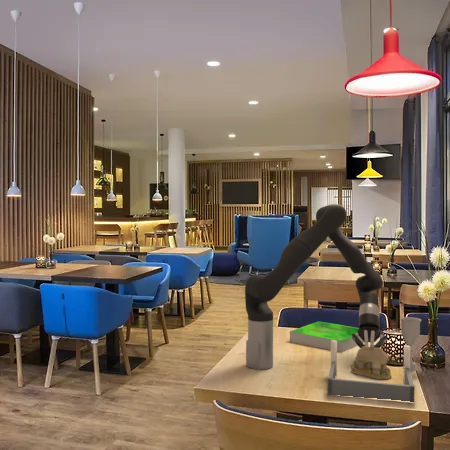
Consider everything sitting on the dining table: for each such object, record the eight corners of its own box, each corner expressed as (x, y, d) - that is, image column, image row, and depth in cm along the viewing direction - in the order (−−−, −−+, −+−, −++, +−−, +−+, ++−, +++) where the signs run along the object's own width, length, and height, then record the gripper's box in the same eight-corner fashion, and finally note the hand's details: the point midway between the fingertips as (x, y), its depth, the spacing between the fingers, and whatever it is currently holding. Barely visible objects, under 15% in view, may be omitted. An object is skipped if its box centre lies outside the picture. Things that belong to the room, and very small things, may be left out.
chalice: (421, 367, 181) (422, 318, 180) (420, 372, 174) (421, 321, 174) (400, 364, 184) (400, 316, 183) (398, 370, 177) (399, 320, 177)
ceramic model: (395, 372, 176) (395, 343, 175) (389, 381, 166) (389, 351, 165) (354, 366, 182) (355, 339, 182) (347, 375, 172) (347, 346, 172)
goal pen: (415, 403, 147) (416, 363, 146) (326, 395, 154) (326, 356, 153) (409, 381, 166) (410, 345, 166) (331, 374, 173) (331, 340, 173)
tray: (289, 342, 216) (289, 331, 216) (318, 331, 235) (318, 321, 235) (342, 353, 200) (342, 341, 200) (368, 340, 219) (368, 329, 219)
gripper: (351, 311, 189) (350, 352, 177) (387, 313, 185) (389, 355, 174) (351, 322, 194) (350, 362, 183) (386, 324, 191) (388, 365, 179)
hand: (369, 359), depth 178 cm, fingers closed
